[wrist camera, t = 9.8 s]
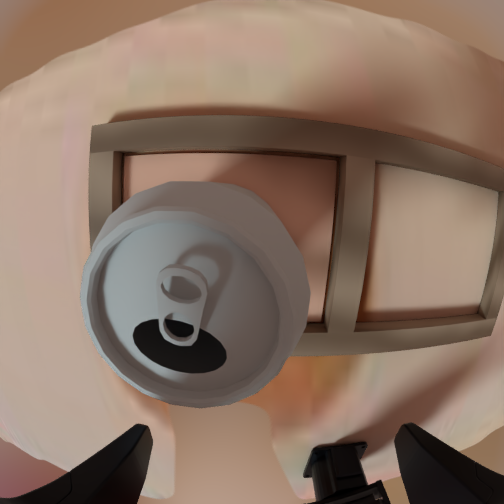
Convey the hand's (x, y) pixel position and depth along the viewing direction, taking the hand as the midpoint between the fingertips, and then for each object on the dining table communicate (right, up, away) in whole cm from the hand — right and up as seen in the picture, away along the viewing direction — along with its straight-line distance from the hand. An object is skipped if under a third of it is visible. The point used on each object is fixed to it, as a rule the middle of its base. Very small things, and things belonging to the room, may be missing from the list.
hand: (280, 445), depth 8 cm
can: (-3, +7, +11) cm, 14 cm away
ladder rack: (+6, +7, +11) cm, 14 cm away
